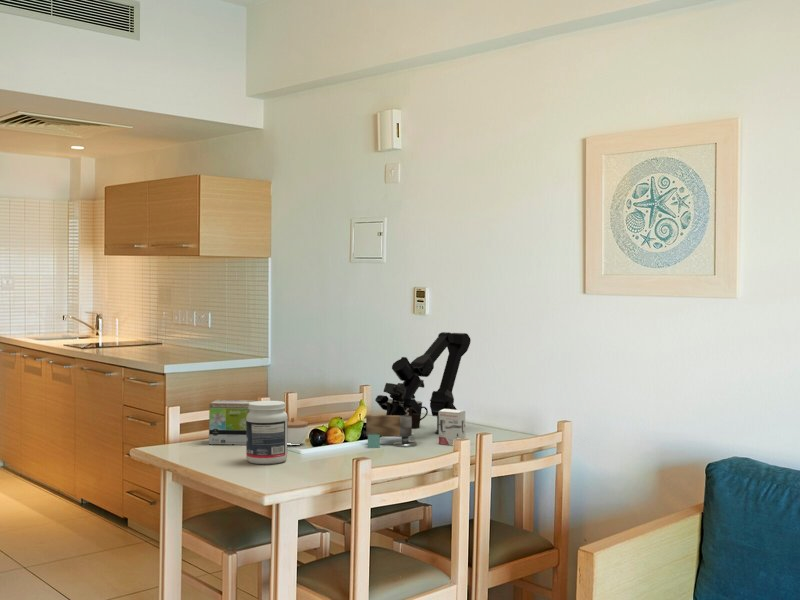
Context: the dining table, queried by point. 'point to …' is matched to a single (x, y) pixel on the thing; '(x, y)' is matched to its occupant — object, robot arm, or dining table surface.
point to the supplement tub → (266, 432)
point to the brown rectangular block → (389, 425)
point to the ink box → (451, 425)
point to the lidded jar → (297, 431)
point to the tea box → (228, 421)
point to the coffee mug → (416, 416)
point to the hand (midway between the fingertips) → (386, 423)
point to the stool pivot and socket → (375, 443)
